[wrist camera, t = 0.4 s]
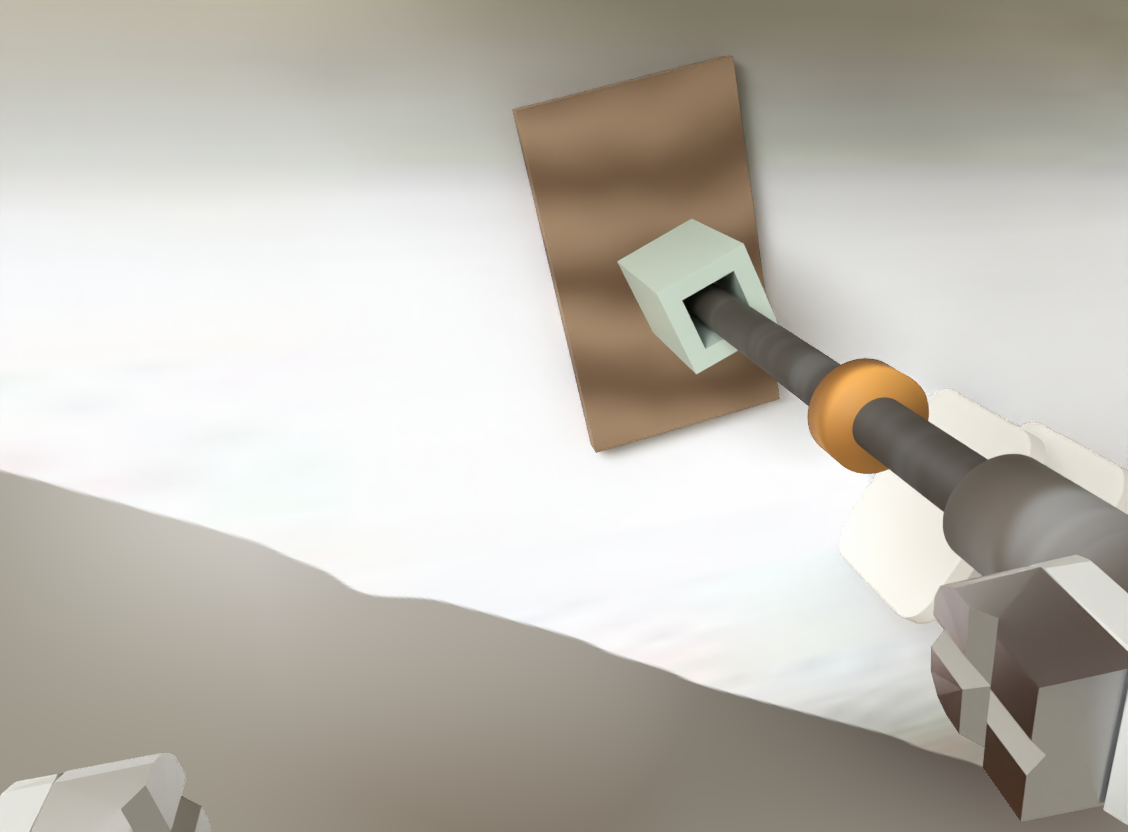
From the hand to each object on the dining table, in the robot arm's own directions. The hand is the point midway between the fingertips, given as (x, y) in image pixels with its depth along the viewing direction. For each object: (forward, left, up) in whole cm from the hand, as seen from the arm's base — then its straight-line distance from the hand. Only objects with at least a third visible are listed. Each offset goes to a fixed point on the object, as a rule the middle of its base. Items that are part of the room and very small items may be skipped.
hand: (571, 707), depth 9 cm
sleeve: (+8, +13, -42) cm, 45 cm away
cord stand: (+8, +13, -46) cm, 49 cm away
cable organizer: (+30, +31, -47) cm, 64 cm away
